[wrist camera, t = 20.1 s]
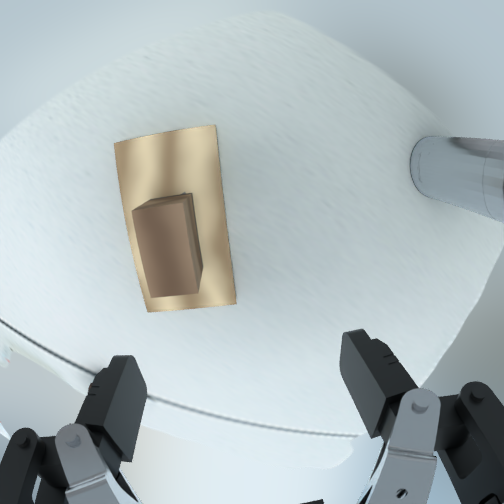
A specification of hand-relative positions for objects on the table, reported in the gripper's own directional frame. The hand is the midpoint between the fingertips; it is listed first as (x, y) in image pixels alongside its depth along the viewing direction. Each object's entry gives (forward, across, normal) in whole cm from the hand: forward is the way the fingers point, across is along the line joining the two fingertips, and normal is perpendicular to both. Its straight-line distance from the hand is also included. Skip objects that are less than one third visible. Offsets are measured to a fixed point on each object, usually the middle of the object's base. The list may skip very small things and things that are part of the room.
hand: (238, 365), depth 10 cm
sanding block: (+24, +6, +1) cm, 25 cm away
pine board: (+26, +6, 0) cm, 27 cm away
